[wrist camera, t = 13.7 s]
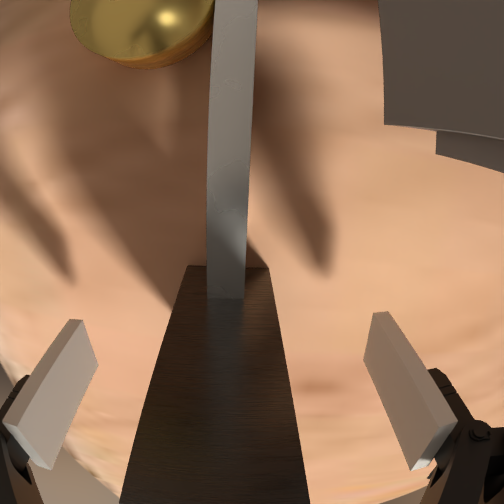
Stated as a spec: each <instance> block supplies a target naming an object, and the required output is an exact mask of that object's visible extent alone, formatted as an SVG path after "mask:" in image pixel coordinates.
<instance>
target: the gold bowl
mask: <svg viewBox="0 0 504 504" xmlns="http://www.w3.org/2000/svg"><path fill="white" fill-rule="evenodd" d="M215 1H216V0H71V6H70V22H71V26H72V29H73V31H74V34H75V36H76V37H77V38H78V40H79V41H80V42H81V43H82V44H83V45H84V46H85V47H86V48H88V49H89V50H91V51H92V52H95V53H97V54H99V55H101V56H104V57H106V58H108V59H111V60H113V61H115V62H117V63H120V64H122V65H124V66H127V67H131V68H136V69H155V68H160V67H165V66H168V65H171V64H174V63H176V62H179V61H181V60H182V59H184V58H186V57H188V56H189V55H191V54H192V53H194V52H195V51H196V50H197V49H199V48H200V47H201V46H202V45H203V44H204V43H205V42H206V41H207V40H208V38H209V37H210V36H211V34H212V33H213V26H214V13H215Z"/></svg>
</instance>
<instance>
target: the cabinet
mask: <svg viewBox="0 0 504 504" xmlns="http://www.w3.org/2000/svg"><path fill="white" fill-rule="evenodd" d="M378 8H379V17H380V28H381V40H382V55H383V77H384V125H393V126H402V127H410V128H417V129H424V130H431V131H437V134H436V154H438V155H442V156H446V157H450V158H454V159H458V160H461V161H465V162H469V163H472V164H476V165H479V166H483V167H486V168H489V169H493V170H496V171H499V172H502V173H504V0H378Z"/></svg>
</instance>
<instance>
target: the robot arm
mask: <svg viewBox="0 0 504 504" xmlns="http://www.w3.org/2000/svg"><path fill="white" fill-rule="evenodd" d="M363 360H364V363H365V365H366V367H367V369H368V371H369V374H370V376H371V378H372V380H373V383H374V385H375V387H376V389H377V392H378V394H379V396H380V399H381V401H382V403H383V406H384V408H385V410H386V413H387V415H388V417H389V420H390V422H391V424H392V427H393V429H394V432H395V434H396V436H397V439H398V441H399V444H400V446H401V449H402V451H403V454H404V456H405V459H406V461H407V464H408V466H409V469H410V471H413V470H416V469H420V468H423V467H426V466H428V465H429V464H430V463H431V461H432V460H433V458H435V460H436V462H437V465H436V467H435V468H434V469H433V471H432V472H431V473H430V475H429V476H428V479H430V478H431V479H430V481H429V484H428V486H427V489H426V491H425V493H424V496H423V498H422V500H421V502H420V504H504V427H499V428H491V427H490V426H489V425H488V424H487V423H485V422H483V421H481V420H475V419H474V418H473V417H472V415H471V413H470V412H469V410H468V409H467V407H466V405H465V404H464V402H463V401H462V399H461V398H460V396H459V394H458V393H456V390H455V388H454V387H453V386H452V384H451V382H450V381H449V379H448V378H447V376H446V375H445V374H444V373H442V372H441V371H440V370H439V369H437V368H434V369H429V370H427V369H426V367H425V366H424V364H423V363H422V361H421V359H420V358H419V356H418V355H417V353H416V352H415V350H414V349H413V347H412V346H411V344H410V343H409V341H408V340H407V338H406V337H405V335H404V334H403V332H402V331H401V329H400V328H399V326H398V325H397V323H396V322H395V320H394V319H393V317H392V316H391V314H390V313H389V312H388V311H387V312H377V313H373V316H372V321H371V326H370V331H369V336H368V341H367V345H366V350H365V354H364V359H363ZM97 367H98V362H97V359H96V357H95V354H94V351H93V349H92V346H91V343H90V340H89V337H88V334H87V331H86V328H85V325H84V322H83V320H76V319H69V321H68V322H67V323H66V325H65V326H64V327H63V329H62V330H61V331H60V333H59V334H58V336H57V337H56V338H55V340H54V341H53V343H52V344H51V346H50V347H49V348H48V350H47V351H46V353H45V354H44V356H43V357H42V359H41V360H40V361H39V363H38V364H37V366H36V367H35V369H34V370H33V372H32V373H31V375H25V376H24V377H23V378H22V379H21V380H19V381H18V382H17V384H16V385H15V387H14V388H13V392H11V393H10V395H9V396H8V399H6V401H5V403H4V404H3V406H2V407H1V409H0V504H44V503H43V501H42V498H41V496H40V493H39V490H38V488H37V485H36V482H35V479H34V476H33V473H32V471H31V468H30V466H29V464H28V463H27V462H28V460H29V458H31V459H32V461H33V462H34V463H35V464H36V465H37V466H40V467H43V468H46V469H49V470H52V468H53V465H54V463H55V460H56V458H57V455H58V453H59V451H60V448H61V446H62V443H63V441H64V439H65V436H66V434H67V432H68V429H69V427H70V425H71V423H72V420H73V418H74V416H75V414H76V411H77V409H78V407H79V405H80V403H81V400H82V398H83V396H84V394H85V392H86V390H87V388H88V386H89V383H90V381H91V379H92V377H93V375H94V373H95V371H96V369H97Z"/></svg>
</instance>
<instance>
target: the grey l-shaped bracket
mask: <svg viewBox="0 0 504 504" xmlns="http://www.w3.org/2000/svg"><path fill="white" fill-rule="evenodd" d="M257 11H258V0H216V1H215V13H214V26H213V40H212V56H211V73H210V93H209V117H208V149H207V213H206V245H207V266H187V269H186V272H185V274H184V277H183V280H182V283H181V286H180V289H179V292H178V295H177V298H176V301H175V304H174V307H173V310H172V313H171V316H170V319H169V323H168V326H167V329H166V332H165V335H164V338H163V341H162V345H161V348H160V351H159V354H158V358H157V361H156V364H155V368H154V371H153V374H152V378H151V381H150V385H149V388H148V392H147V395H146V399H145V402H144V406H143V409H142V413H141V417H140V420H139V424H138V428H137V431H136V435H135V439H134V443H133V447H132V451H131V455H130V459H129V463H128V467H127V471H126V475H125V479H124V483H123V488H122V492H121V496H120V501H119V504H310V499H309V493H308V486H307V480H306V474H305V468H304V462H303V456H302V450H301V445H300V439H299V433H298V427H297V421H296V415H295V410H294V404H293V398H292V393H291V387H290V381H289V376H288V370H287V364H286V359H285V353H284V348H283V342H282V337H281V331H280V326H279V320H278V315H277V309H276V304H275V299H274V293H273V288H272V283H271V277H270V272H269V268H245V263H246V239H247V216H248V194H249V172H250V150H251V129H252V108H253V88H254V68H255V48H256V29H257Z"/></svg>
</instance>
